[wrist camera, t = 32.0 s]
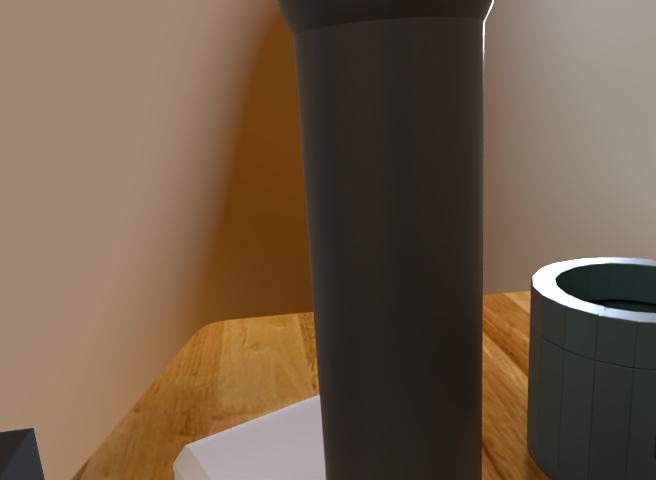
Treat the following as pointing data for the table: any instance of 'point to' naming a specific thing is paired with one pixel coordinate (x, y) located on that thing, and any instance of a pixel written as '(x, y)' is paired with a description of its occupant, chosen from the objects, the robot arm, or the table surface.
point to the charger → (261, 448)
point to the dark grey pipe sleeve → (593, 369)
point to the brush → (395, 230)
